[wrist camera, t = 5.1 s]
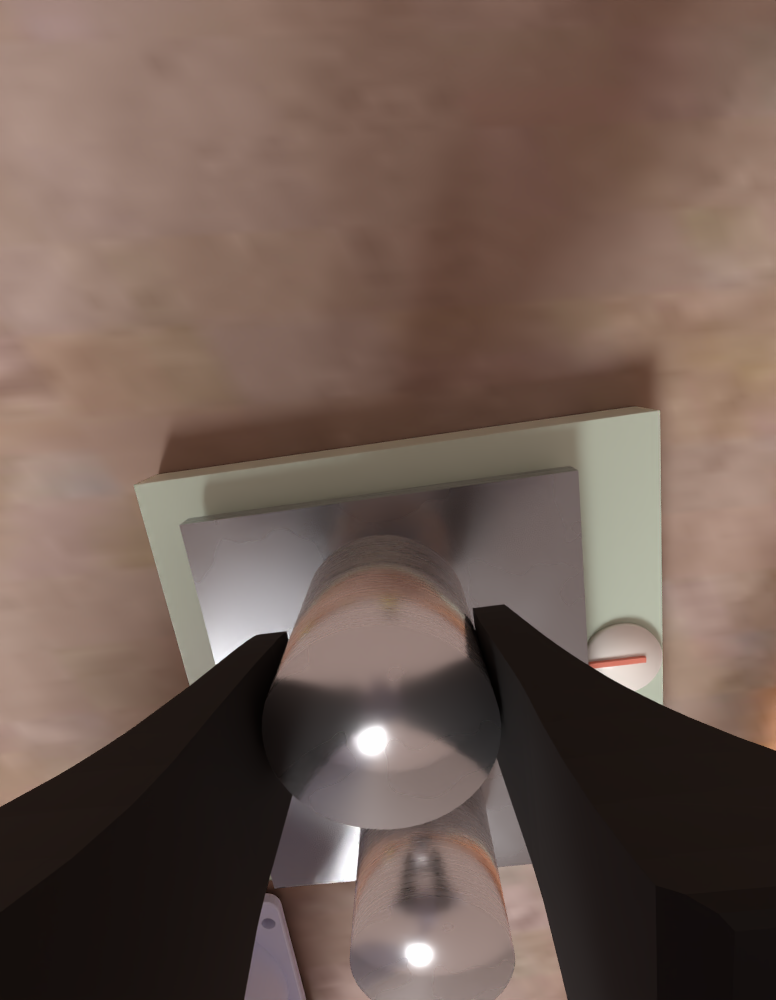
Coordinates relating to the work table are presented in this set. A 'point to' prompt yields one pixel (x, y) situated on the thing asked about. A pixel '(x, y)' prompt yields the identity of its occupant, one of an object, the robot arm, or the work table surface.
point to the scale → (449, 458)
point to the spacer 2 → (431, 911)
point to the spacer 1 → (382, 690)
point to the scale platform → (443, 527)
